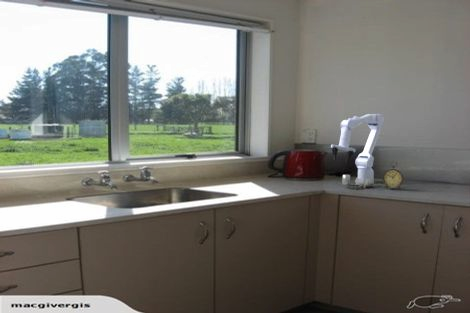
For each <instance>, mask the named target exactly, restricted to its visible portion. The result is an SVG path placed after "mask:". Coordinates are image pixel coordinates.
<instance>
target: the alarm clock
mask: <svg viewBox="0 0 470 313" xmlns="http://www.w3.org/2000/svg"><path fill="white" fill-rule="evenodd" d="M393 162H395V165H392V164H390V166H391V168H388V169H386V170H385V171H384V172H383V174H382V182H383V184H384V185H385V187H384V190H385V189H386V188H391V189H395V188H396V189H397V188H398V189H399V190H400V191H402V188H401V185H402V184H403V182H404V173H403V172H402V171H401V170H400V169H398V168H396V166H397V164H398V163H397V161H396V160H391V163H393Z"/></svg>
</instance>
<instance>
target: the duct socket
mask: <svg viewBox="0 0 470 313" xmlns="http://www.w3.org/2000/svg"><path fill="white" fill-rule="evenodd" d="M355 181H356V182H355V184H354V183H351V184H347V185H345V189H348V190H362V189H365V188H370V187H371V188H372V187H374V184H375V180H373V179H372V178H365V179H361V178H358V177H355Z"/></svg>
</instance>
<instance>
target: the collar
mask: <svg viewBox="0 0 470 313" xmlns="http://www.w3.org/2000/svg"><path fill="white" fill-rule="evenodd" d="M341 179H342V180H341V182H342V183H341V184H342V186H346V185H347V184H350V183H351V174H342V178H341Z"/></svg>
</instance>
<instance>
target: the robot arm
mask: <svg viewBox="0 0 470 313" xmlns="http://www.w3.org/2000/svg"><path fill="white" fill-rule="evenodd" d="M365 122H366V125H367V126H368V128H369V129H370V133H369V135H368V138H367V141H366V143H365V145H364V148H363V151H362V152H361V153H359V154H358V156H357V157H356V159H355V162H354V163H355V166H356V168H357V178H361V179H365V178H372V179H373V181H375V180H374V176H375V173H374V172H375V171H374V170H373V168H372V167H373V166H374V160H375V157H374V156H373V151H374V149H375V147H376V144H377V141H378V139H379V137H380V136H379V135H380V134H381V133H380V132H381V130H382V127H383V125H384V122H385V118H384V115H383V114H381V113H366V114H365V115H362V116H357V115H354V116H353V117H350V118H349V117H348V119H343V120H342V121H341V122H340V124H339V126H340V131H341V132H340V137H339V140H338V141H339V143H338V145H337V144H333V143H332V144H331V145H330V148H331V151H332V157H333V162H334V161H336V160H337V155H338V152H339V150H340V151H341V150H342V151H347V152H346V160H345V164H349V161H350V159H351V158H352V156H353V155H354V153H355V152H356V148H352V147H349V146H350V141H351V135H352V130H354V128H356V127H359V126H361V124H362V123H365ZM354 182H355V183H356V180H354Z"/></svg>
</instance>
